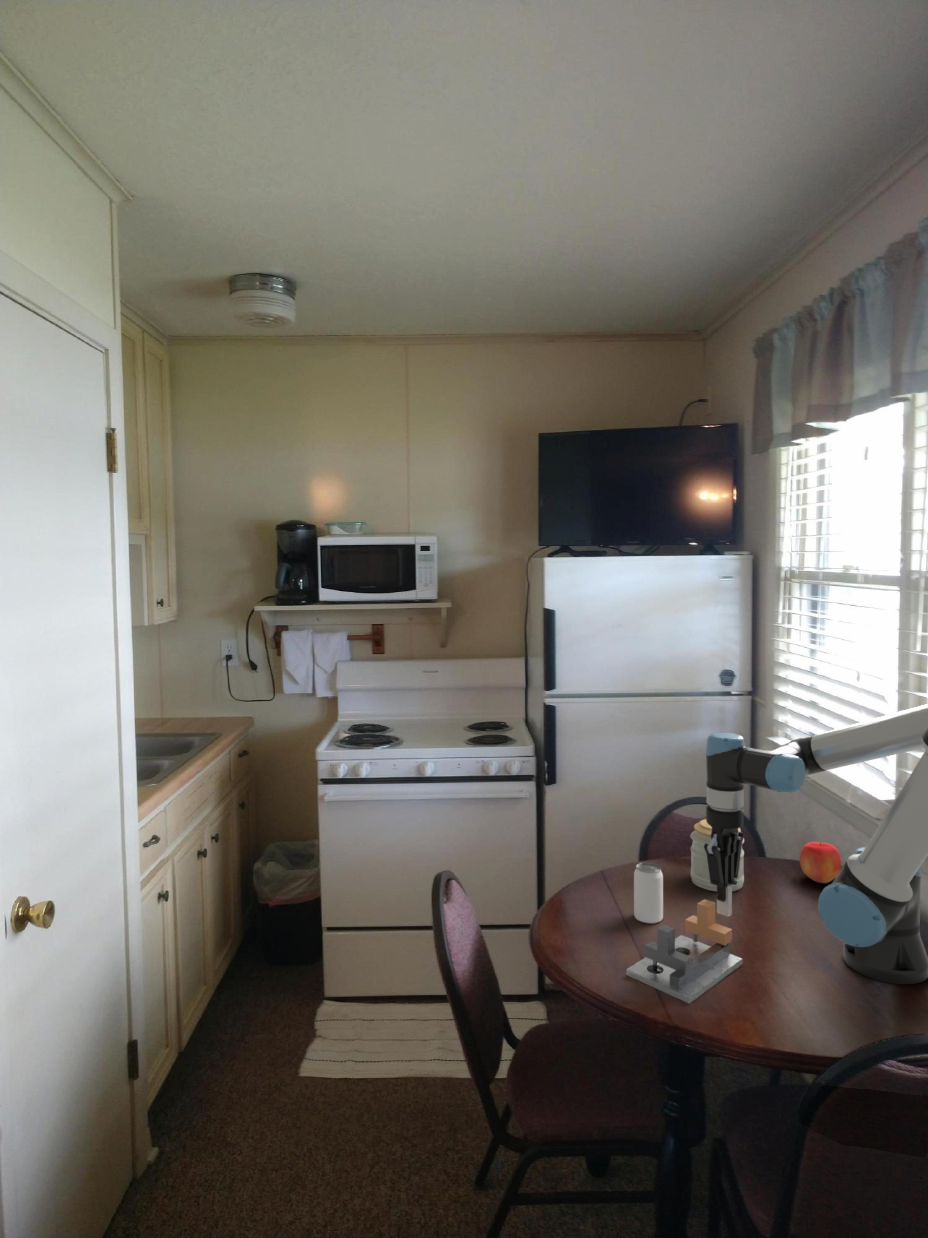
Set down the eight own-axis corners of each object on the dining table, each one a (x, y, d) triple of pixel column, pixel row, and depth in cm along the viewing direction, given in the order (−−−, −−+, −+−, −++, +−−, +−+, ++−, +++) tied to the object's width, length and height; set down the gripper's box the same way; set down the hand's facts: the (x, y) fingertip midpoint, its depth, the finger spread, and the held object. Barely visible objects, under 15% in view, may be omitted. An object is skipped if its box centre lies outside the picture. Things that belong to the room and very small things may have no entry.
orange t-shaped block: (732, 951, 156) (732, 908, 156) (724, 956, 154) (724, 913, 154) (692, 936, 163) (692, 895, 162) (685, 941, 161) (685, 899, 160)
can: (663, 925, 172) (663, 873, 171) (634, 923, 173) (634, 872, 172) (662, 912, 178) (662, 862, 177) (633, 910, 179) (633, 861, 178)
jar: (683, 886, 192) (683, 817, 191) (699, 868, 203) (699, 804, 202) (736, 897, 185) (736, 826, 184) (750, 879, 196) (750, 812, 195)
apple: (848, 889, 189) (849, 849, 188) (810, 889, 189) (810, 850, 188) (830, 873, 198) (830, 835, 198) (793, 874, 198) (793, 836, 198)
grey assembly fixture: (742, 964, 154) (742, 914, 154) (689, 1004, 141) (689, 949, 140) (681, 940, 165) (681, 893, 164) (626, 975, 151) (626, 924, 150)
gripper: (723, 796, 169) (723, 899, 171) (692, 809, 161) (692, 918, 162) (756, 803, 164) (755, 909, 165) (725, 817, 155) (725, 929, 157)
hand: (724, 913), depth 164 cm, fingers closed
